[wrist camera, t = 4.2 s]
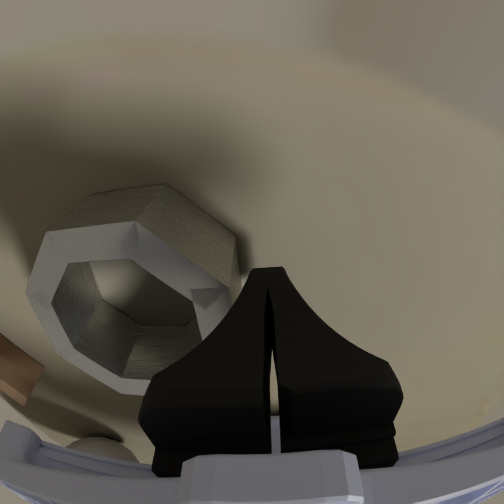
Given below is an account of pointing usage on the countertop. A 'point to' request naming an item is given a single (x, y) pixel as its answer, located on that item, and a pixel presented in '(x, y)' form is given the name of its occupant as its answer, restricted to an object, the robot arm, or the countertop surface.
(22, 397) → the vee stop
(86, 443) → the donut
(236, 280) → the ring
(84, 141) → the countertop surface
